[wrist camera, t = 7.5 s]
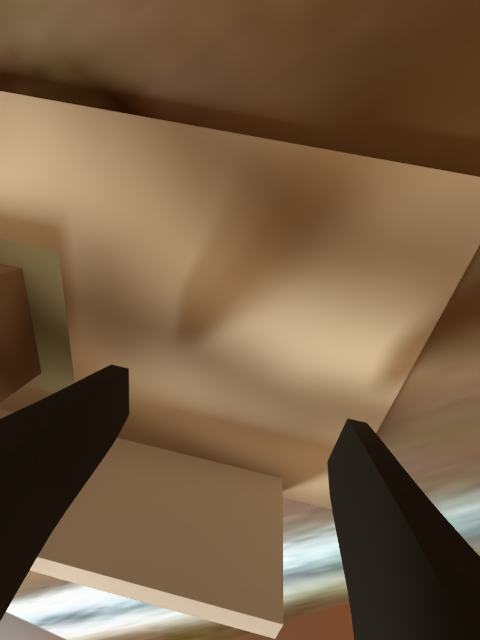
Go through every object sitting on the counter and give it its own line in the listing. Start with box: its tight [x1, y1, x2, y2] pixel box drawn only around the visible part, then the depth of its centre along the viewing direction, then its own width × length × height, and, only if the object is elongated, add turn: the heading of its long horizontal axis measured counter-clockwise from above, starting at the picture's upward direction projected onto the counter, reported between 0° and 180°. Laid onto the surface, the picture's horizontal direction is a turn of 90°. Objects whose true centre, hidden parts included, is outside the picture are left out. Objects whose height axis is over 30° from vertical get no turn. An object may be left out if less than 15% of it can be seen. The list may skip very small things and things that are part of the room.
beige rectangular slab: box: [0, 409, 283, 639], centre depth 12 cm, size 1×16×5 cm, turn 80°
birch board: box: [0, 91, 480, 510], centre depth 11 cm, size 15×21×1 cm
